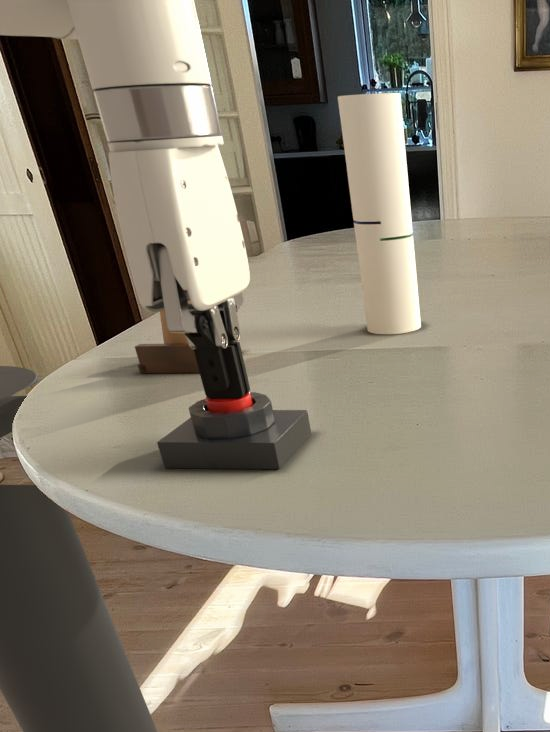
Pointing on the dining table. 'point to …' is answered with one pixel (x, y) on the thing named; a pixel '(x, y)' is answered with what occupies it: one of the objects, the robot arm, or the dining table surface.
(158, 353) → the roll stand
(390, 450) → the dining table surface
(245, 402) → the button
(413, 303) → the cylindrical container
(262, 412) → the button box
